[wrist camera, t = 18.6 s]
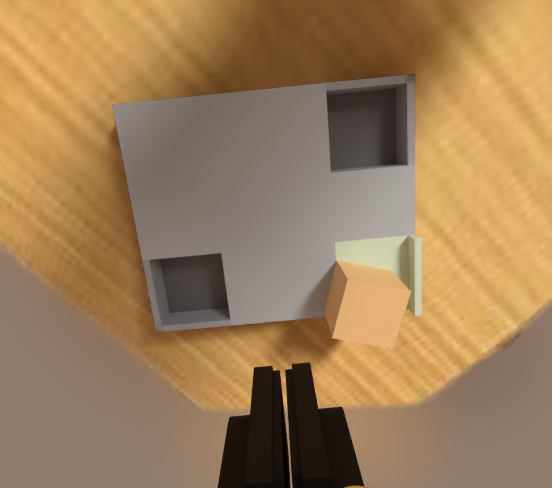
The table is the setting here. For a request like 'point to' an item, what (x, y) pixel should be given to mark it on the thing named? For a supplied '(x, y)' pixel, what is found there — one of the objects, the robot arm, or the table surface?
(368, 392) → the table surface
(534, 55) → the table surface
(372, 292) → the block
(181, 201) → the grey sorting tray
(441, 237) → the table surface
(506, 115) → the table surface
